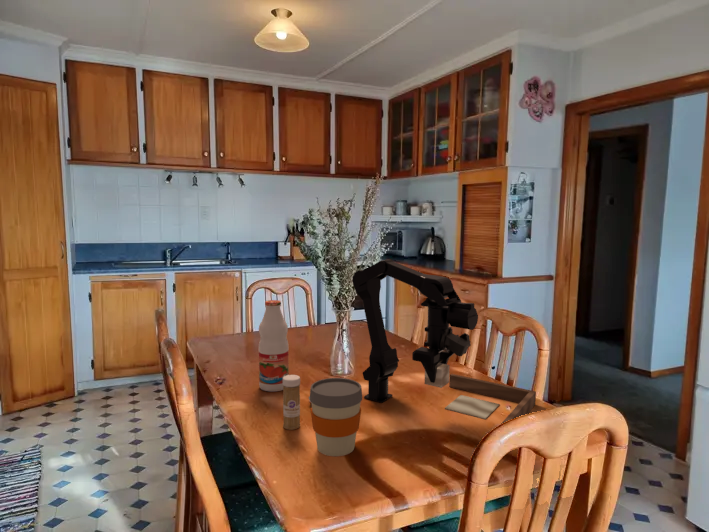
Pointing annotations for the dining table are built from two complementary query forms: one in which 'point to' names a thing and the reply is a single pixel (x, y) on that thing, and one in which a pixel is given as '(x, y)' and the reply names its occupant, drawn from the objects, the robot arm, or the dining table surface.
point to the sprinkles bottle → (291, 402)
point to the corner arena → (490, 389)
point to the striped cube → (439, 376)
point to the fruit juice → (273, 348)
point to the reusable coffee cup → (335, 414)
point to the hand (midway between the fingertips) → (436, 379)
